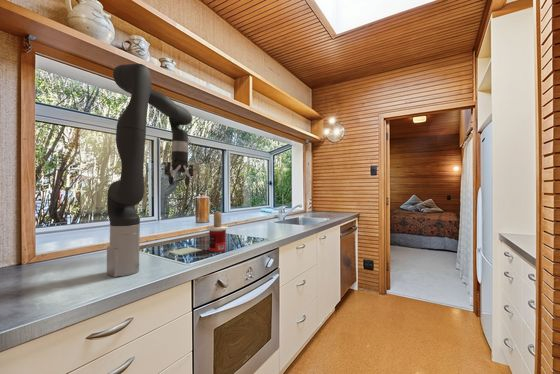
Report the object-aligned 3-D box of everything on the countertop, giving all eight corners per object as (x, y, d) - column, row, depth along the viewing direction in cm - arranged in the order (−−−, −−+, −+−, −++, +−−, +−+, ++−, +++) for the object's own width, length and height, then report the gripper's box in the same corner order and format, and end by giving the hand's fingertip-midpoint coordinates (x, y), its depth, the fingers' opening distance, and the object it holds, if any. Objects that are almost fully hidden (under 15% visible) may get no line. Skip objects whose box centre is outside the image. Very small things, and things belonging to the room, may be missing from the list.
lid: (216, 231, 117) (216, 213, 117) (202, 229, 123) (202, 212, 123) (232, 228, 125) (232, 212, 125) (218, 226, 131) (218, 211, 131)
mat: (180, 256, 114) (180, 255, 114) (167, 253, 120) (167, 251, 120) (202, 251, 124) (202, 249, 124) (189, 248, 129) (189, 247, 129)
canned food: (227, 249, 127) (227, 227, 128) (222, 253, 120) (222, 230, 120) (212, 249, 128) (212, 227, 128) (206, 253, 120) (206, 229, 120)
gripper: (171, 148, 116) (170, 184, 115) (197, 152, 127) (196, 185, 127) (161, 150, 120) (161, 184, 120) (187, 153, 132) (187, 185, 131)
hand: (179, 184), depth 123 cm, fingers open, 8 cm apart
